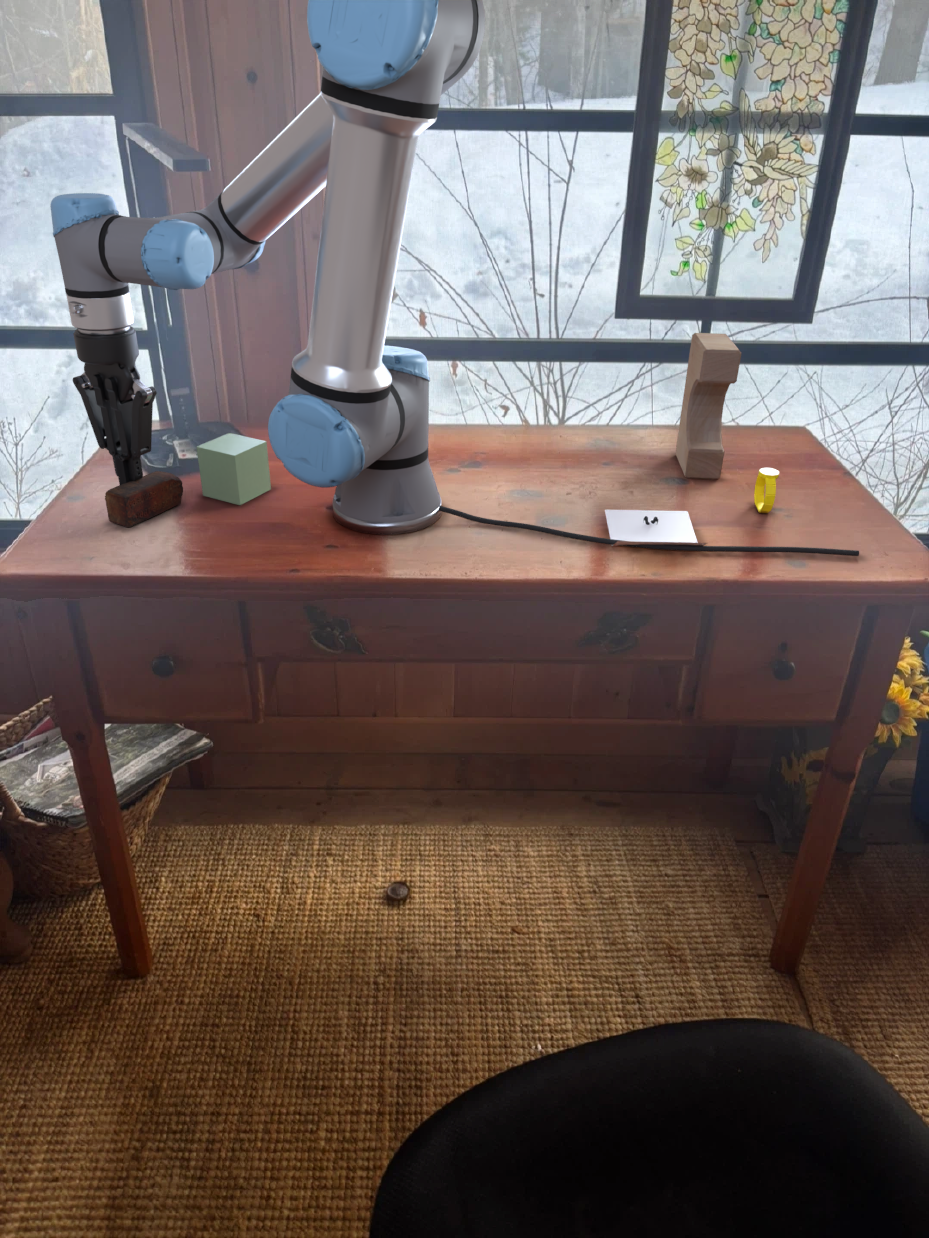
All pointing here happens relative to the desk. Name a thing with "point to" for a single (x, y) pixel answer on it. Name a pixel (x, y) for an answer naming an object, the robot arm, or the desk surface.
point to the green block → (234, 468)
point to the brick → (143, 498)
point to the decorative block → (705, 404)
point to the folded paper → (651, 527)
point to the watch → (768, 478)
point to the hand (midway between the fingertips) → (133, 499)
